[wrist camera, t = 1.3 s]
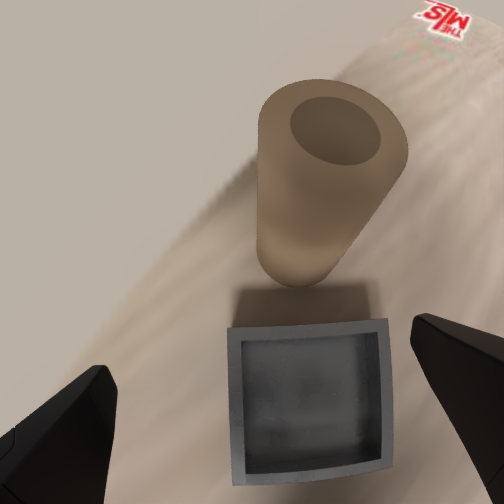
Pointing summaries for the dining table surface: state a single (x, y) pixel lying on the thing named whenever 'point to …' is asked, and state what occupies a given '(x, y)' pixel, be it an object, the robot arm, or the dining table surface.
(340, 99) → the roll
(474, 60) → the dining table surface
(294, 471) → the tray
